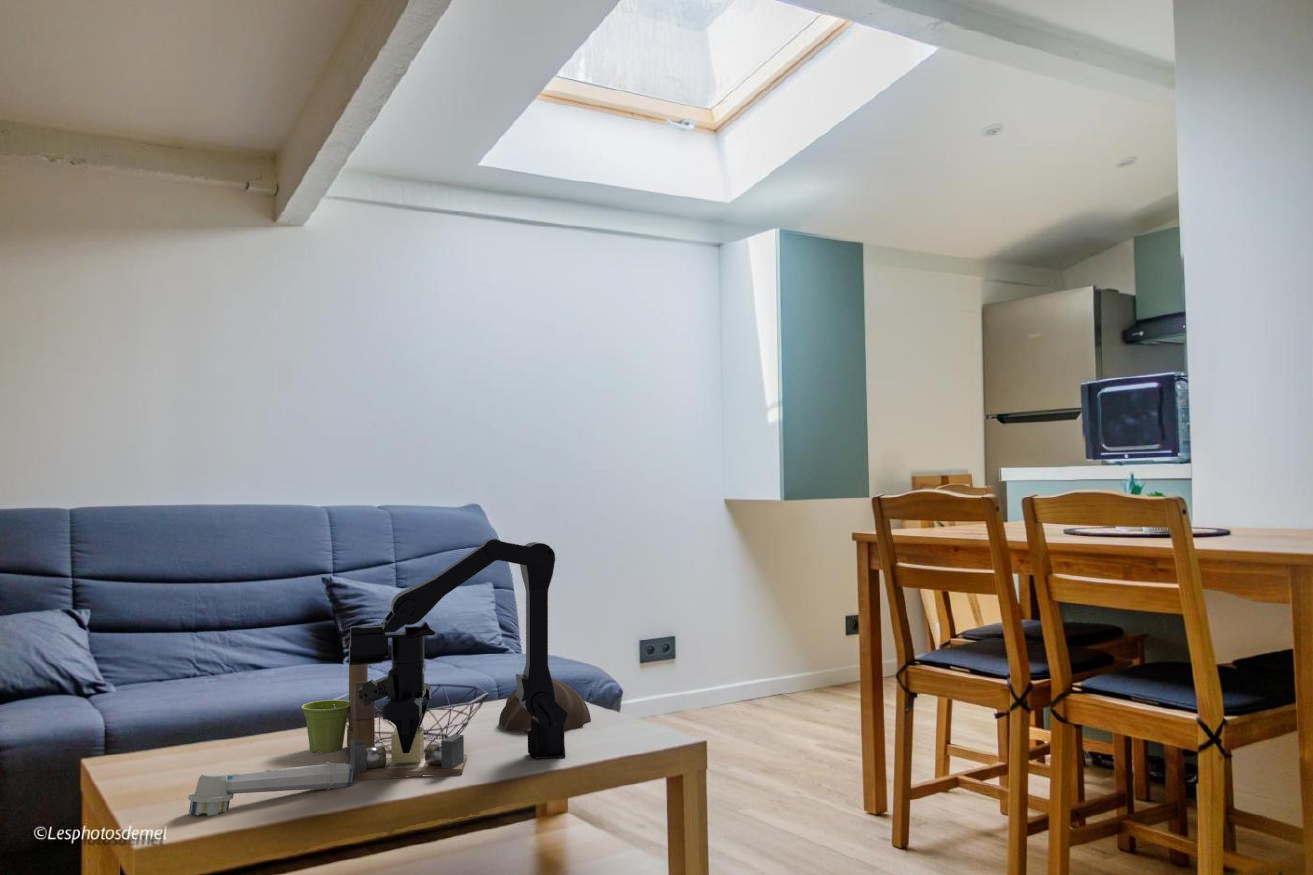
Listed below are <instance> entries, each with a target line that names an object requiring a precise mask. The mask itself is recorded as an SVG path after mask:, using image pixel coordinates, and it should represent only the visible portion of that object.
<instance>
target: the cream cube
mask: <svg viewBox="0 0 1313 875" xmlns="http://www.w3.org/2000/svg"><path fill="white" fill-rule="evenodd" d="M424 731H425V727H424V726H420V727H418V729H417V732H416V735H415V738H414V741H413V744H412V746H411V749H410V752H409V753H403V752H402V748H401V744H400V740H399V736H398V732H397V728H396V727H395V728H394V730H393V732H392V734H391V735H390V736H391V738H390V739H391V740H390V741H391V751H390V752H391V756H390V758H391V764H392V763H412V762H421V760H422V758H423V756H425V743H424V742H425V736H424V735H425V732H424Z"/></svg>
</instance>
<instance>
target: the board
mask: <svg viewBox="0 0 1313 875" xmlns="http://www.w3.org/2000/svg"><path fill="white" fill-rule="evenodd" d="M467 755H468V754H467V753H465V754H464V762H463V763H461V764H460V765H458V766H457V767H455V768H453V769H442V765H428V764H426V761H425V755H424V756H423V758H422V760H421V762H412V763H392V764H391V757H386V766H385V767H379V768H372V769H366V773H359V774H354V773H353V777H352V781H354V780H355V781H361V780H376V779H377V780H378V779H379V780H381V779H395V778H394V777H403V778H407V777H406V776H423V775H443V776H455V775H454V774H462V775H463V773H462V772H464V770H465V766H466V762H467V760H468V759H467ZM423 777H424V776H423Z"/></svg>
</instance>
